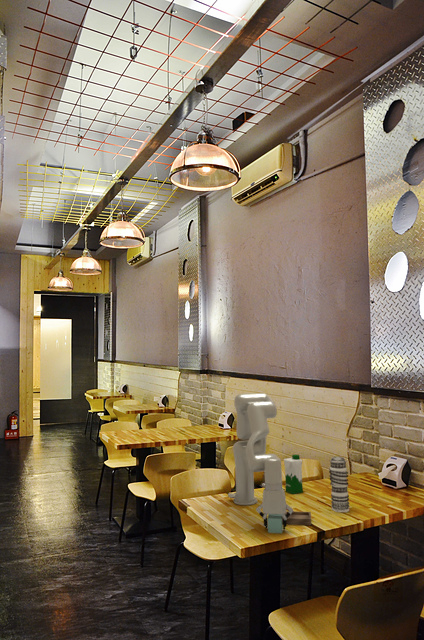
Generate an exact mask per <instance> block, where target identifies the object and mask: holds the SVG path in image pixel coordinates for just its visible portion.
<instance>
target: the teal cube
mask: <svg viewBox="0 0 424 640" xmlns="http://www.w3.org/2000/svg"><path fill="white" fill-rule="evenodd" d="M267 524H268V527H267V533H269V534H283V530H284V529H283V524H282V515H275V514H267ZM282 529H283V530H282Z"/></svg>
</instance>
